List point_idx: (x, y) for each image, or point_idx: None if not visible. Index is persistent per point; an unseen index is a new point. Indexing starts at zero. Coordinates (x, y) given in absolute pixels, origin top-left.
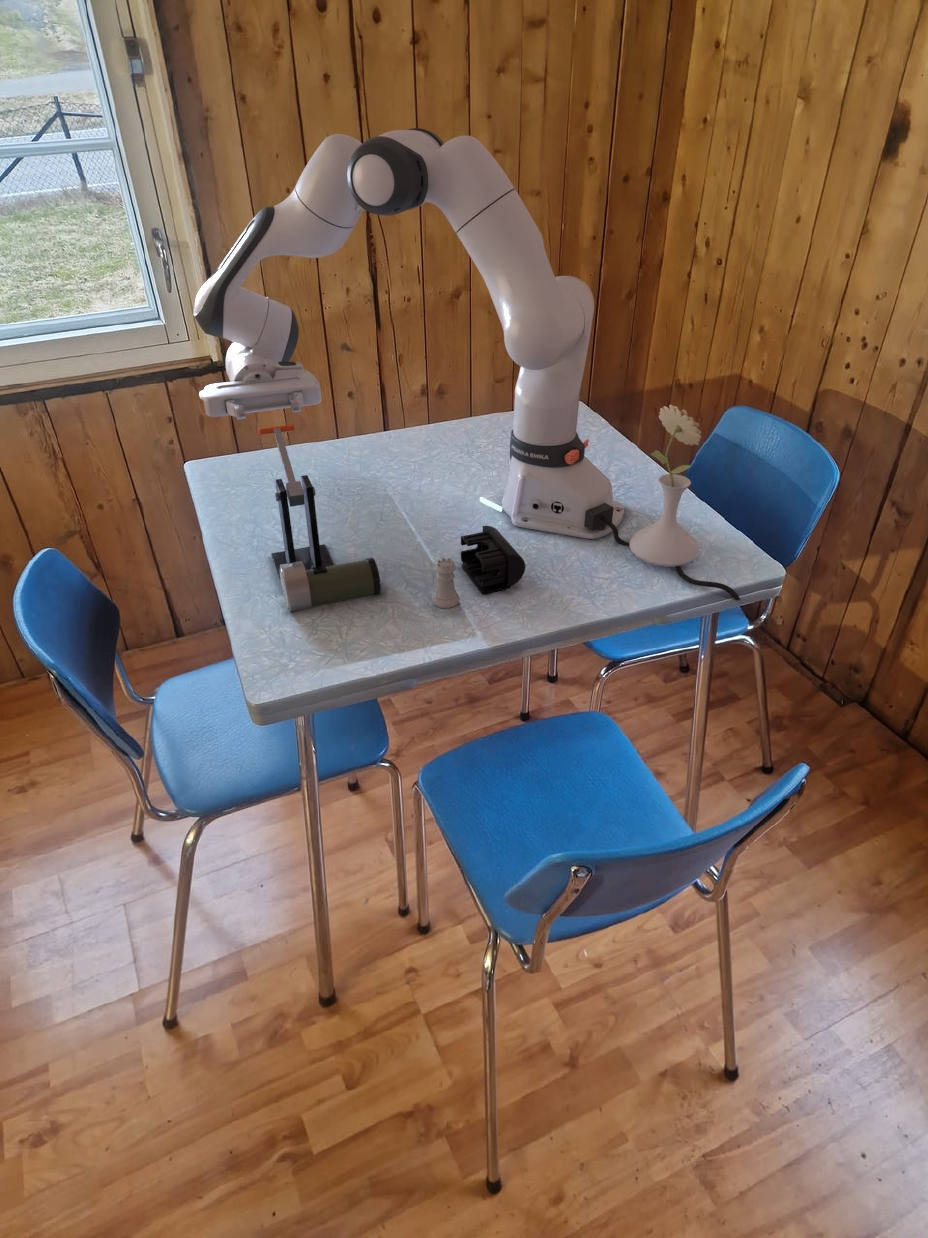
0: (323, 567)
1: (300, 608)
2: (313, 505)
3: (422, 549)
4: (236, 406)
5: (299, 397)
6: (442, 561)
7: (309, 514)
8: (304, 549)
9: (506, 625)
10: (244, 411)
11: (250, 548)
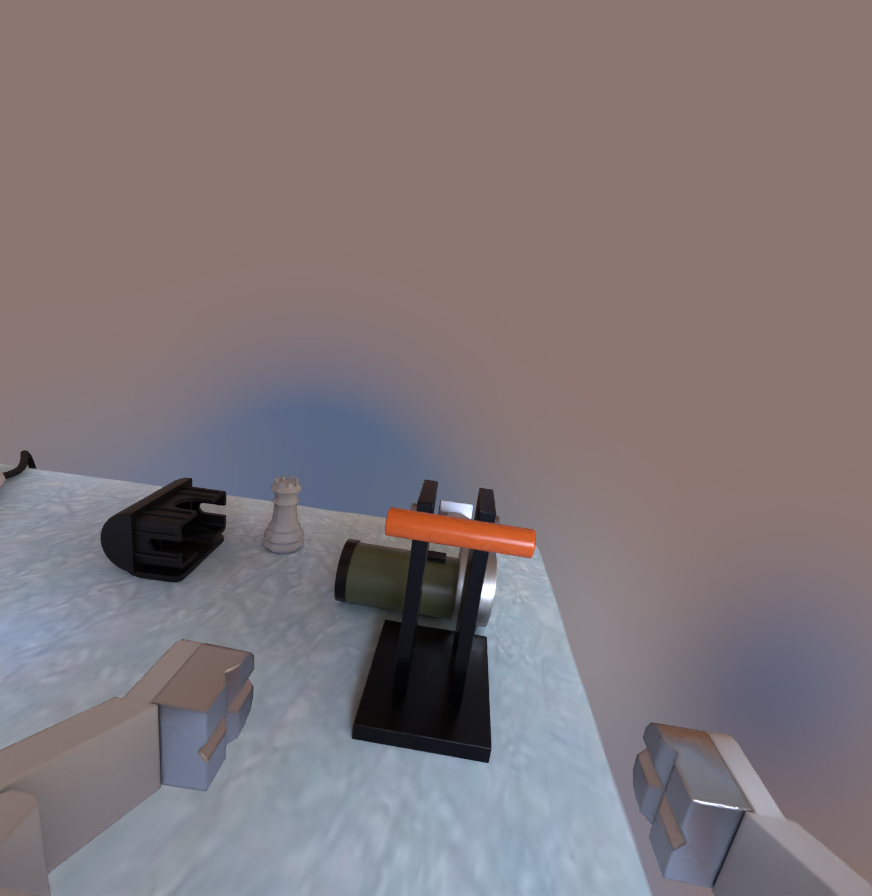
0: (429, 553)
1: None
2: None
3: (171, 646)
4: (755, 802)
5: (94, 707)
6: (284, 485)
7: None
8: (408, 724)
9: (255, 510)
10: (646, 727)
11: (543, 855)
